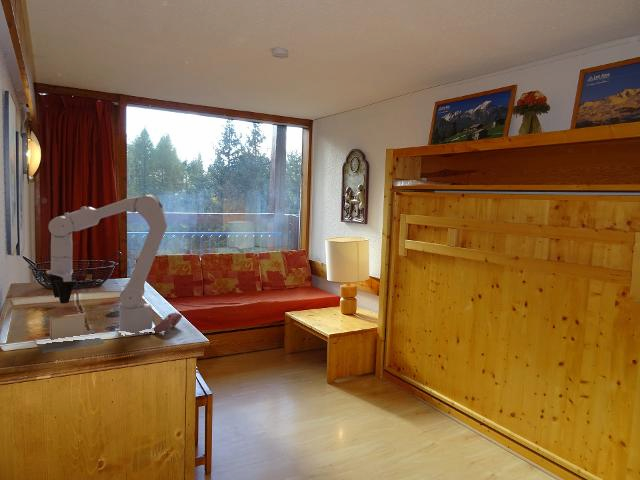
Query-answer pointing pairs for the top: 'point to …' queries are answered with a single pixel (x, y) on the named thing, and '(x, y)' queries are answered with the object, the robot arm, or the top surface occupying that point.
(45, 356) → the top surface
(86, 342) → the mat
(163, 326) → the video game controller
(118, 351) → the top surface
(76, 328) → the tile
